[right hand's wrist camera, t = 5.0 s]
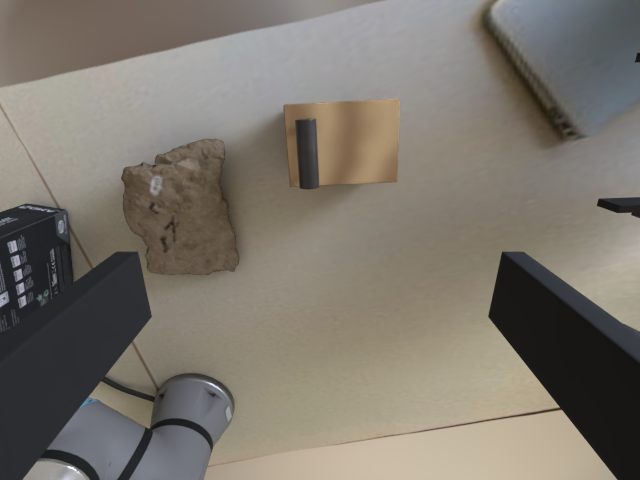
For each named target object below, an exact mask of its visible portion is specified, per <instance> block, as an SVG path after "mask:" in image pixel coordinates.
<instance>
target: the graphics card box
mask: <svg viewBox="0 0 640 480" xmlns="http://www.w3.org/2000/svg"><path fill="white" fill-rule="evenodd" d="M72 284H73V273H72V262H71V250H70V238H69V227H68V215H67V211H66V210H64V209H58V208H51V207H45V206H38V205H32V204H24V205H21V206H18V207H15V208H12V209H9V210H6V211H3V212H0V333H2V332H4V331H6V330H8V329H10V328H12V327H14V326H15V325H16V324H18V323H19V322H21V321H22V320H23V319H25V318H26V317H27V316H29V315H30V314H32V313H33V312H34V311H36V310H37V309H38V308H40V307H41V306H43V305H44V304H45V303H47V302H48V301H49V300H51V299H52V298H54V297H55V296H56V295H58V294H59V293H60V292H62V291H63V290H65V289H66V288H67V287H69V286H70V285H72Z"/></svg>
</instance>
